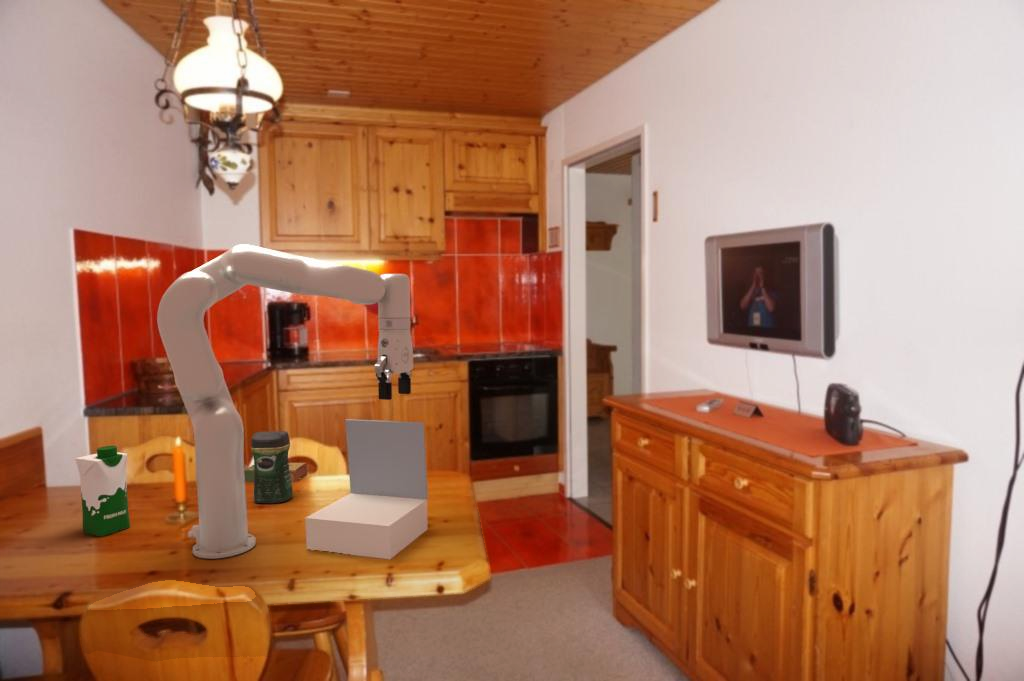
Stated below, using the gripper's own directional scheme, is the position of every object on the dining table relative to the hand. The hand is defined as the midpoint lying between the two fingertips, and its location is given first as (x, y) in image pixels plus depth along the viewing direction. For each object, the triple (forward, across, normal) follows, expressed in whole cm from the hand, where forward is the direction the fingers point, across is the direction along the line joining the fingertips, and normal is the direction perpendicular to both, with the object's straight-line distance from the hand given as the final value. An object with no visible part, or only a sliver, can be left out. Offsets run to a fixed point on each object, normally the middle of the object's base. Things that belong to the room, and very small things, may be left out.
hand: (395, 396), depth 162 cm
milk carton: (+32, -25, +63) cm, 75 cm away
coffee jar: (+31, +4, +39) cm, 50 cm away
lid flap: (+14, -6, -1) cm, 15 cm away
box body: (+30, -14, -1) cm, 33 cm away
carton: (+31, +23, +52) cm, 65 cm away
